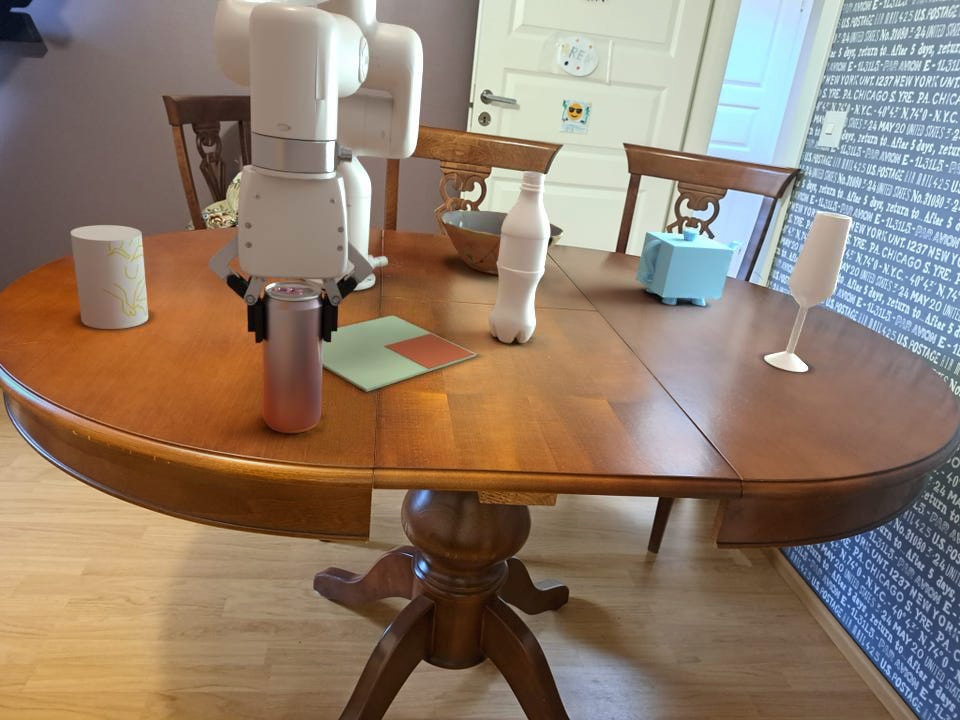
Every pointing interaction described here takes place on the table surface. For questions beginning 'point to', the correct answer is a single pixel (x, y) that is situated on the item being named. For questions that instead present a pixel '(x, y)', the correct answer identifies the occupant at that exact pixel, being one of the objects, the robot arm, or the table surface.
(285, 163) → the robot arm
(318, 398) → the beverage can
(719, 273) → the teapot
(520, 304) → the water bottle
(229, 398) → the table surface
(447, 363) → the placemat
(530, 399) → the table surface
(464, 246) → the bowl
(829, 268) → the champagne flute
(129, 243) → the cup
